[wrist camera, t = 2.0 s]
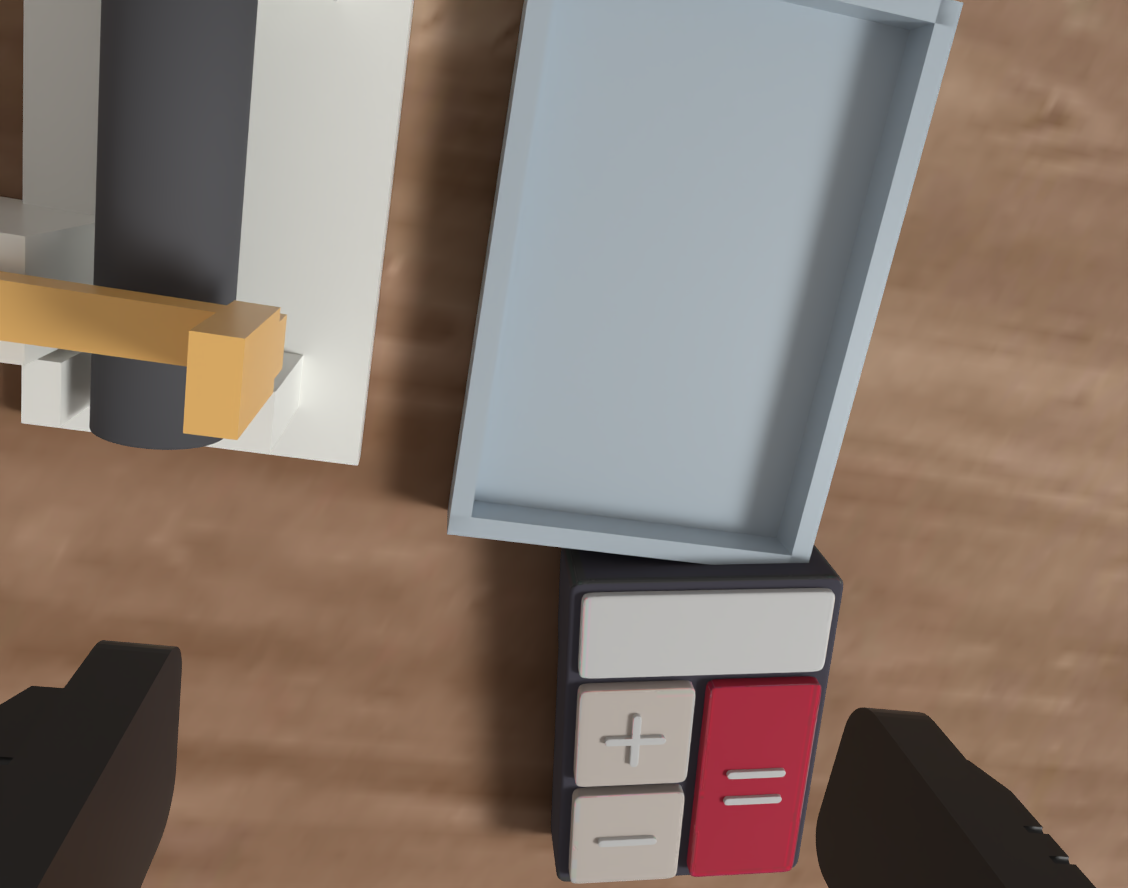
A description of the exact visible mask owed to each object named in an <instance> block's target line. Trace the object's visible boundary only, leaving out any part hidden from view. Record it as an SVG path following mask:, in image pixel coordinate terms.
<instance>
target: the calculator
mask: <svg viewBox="0 0 1128 888" xmlns="http://www.w3.org/2000/svg"><path fill="white" fill-rule="evenodd" d="M842 591H843V581H842V580H841V578H840V577H839V575H838V574H837V573H836V572H835V570H834V569H833V568H832V567H831V565H830V564H829V563H828V562H827V560H826V559H825V558H824V557H823V555H822V554H821V553H820V552H819V550H818V549H817V548H816V547H815V545H813V549H812V553H811V556H810V560H809V563H771V564H723V565H709V564H700V563H691V562H683V561H674V560H666V559H657V558H648V557H640V556H631V555H622V554H614V553H605V552H597V551H588V550H579V549H571V548H562V550H561V559H560V583H559V609H558V643H559V648H558V672H557V696H556V720H555V744H554V767H553V791H552V815H551V832H552V841H553V849H554V857H555V865H556V872H557V876H558V878H559V879H560V880H562V881H571V882H573V883H596V882H614V881H631V880H649V879H667V878H672V877H674V876H677V875H691V876H694V877H702V876H720V875H738V874H756V873H774V872H786V871H789V870H791V868H793V867H794V866H795V865H796V864H797V862H798V857H799V851H800V845H801V839H802V833H803V827H804V821H805V815H806V809H807V803H808V797H809V791H810V785H811V779H812V773H813V767H814V761H815V755H816V749H817V742H818V736H819V730H820V724H821V718H822V712H823V706H824V700H825V694H826V688H827V682H828V676H829V670H830V664H831V658H832V652H833V646H834V640H835V634H836V628H837V621H838V615H839V609H840V603H841V597H842Z"/></svg>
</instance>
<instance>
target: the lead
mask: <svg viewBox="0 0 1128 888" xmlns="http://www.w3.org/2000/svg"><path fill="white" fill-rule="evenodd" d="M257 8H258V0H101V27H100V63H99V99H98V134H97V170H96V206H95V242H94V278H93V285H96V286H102V287H109V288H116V289H122V290H129V291H135V292H142V293H149V294H155V295H162V296H168V297H175V298H182V299H188V300H195V301H202V302H208V303H215V304H221V305H228V304H230V303H231V302H233V301H234V300H236V296H237V282H238V268H239V254H240V241H241V227H242V213H243V200H244V186H245V172H246V159H247V145H248V131H249V118H250V104H251V90H252V76H253V63H254V49H255V35H256V22H257ZM186 373H187V366H179V365H172V364H165V363H158V362H151V361H144V360H136V359H129V358H122V357H115V356H108V355H101V354H93V353H91V385H90V421H89V428H90V430H91V432H92V433H93V434H95V435H96V436H98V437H100V438H102V439H104V440H107V441H110V442H113V443H116V444H120V445H125V446H130V447H137V448H145V449H161V450H176V449H190V448H198V447H203V446H208V445H211V444H214V443H217V442H219V441H220V440H222V439H223V438H217V437H209V436H201V435H193V434H185V433H183V424H184V407H185V390H186Z"/></svg>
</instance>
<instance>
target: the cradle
mask: <svg viewBox="0 0 1128 888" xmlns="http://www.w3.org/2000/svg"><path fill="white" fill-rule="evenodd" d="M413 5H414V0H258V8H257V22H256V35H255V49H254V63H253V76H252V90H251V104H250V118H249V131H248V145H247V159H246V172H245V186H244V200H243V213H242V227H241V241H240V254H239V268H238V282H237V296H236V301H243V302H249V303H256V304H262V305H269V306H275V307H281V309H280V313H281V314H287V321H286V332H285V343H284V354H283V365H282V370H281V371H280V372H279V374H278V375H277V376H276V377H275V379H274V389H273V394H272V395H271V396H270V398H269V399H268V400H267V402H266V403H265V404H264V405H263V407H262V408H261V409H260V411H259V412H258V413H257V415H256V416H255V417H254V419H253V420H252V421H251V423H250V424H249V425H248V427H247V428H246V429H245V431H244V432H243V433H242V435H241V436H240V437H239V439H238V440H232V439H224V438H223V439H222V440H220V441H219V442H217V443H214V444H211V445H208V446H207V447H215V448H223V449H231V450H239V451H247V452H255V453H263V454H270V455H278V456H286V457H294V458H302V459H310V460H318V461H326V462H334V463H342V464H350V465H357V466H358V463H359V460H360V455H361V446H362V438H363V429H364V421H365V412H366V404H367V395H368V387H369V378H370V370H371V361H372V353H373V344H374V336H375V327H376V319H377V311H378V302H379V294H380V285H381V277H382V268H383V260H384V251H385V243H386V234H387V226H388V217H389V209H390V200H391V192H392V183H393V175H394V166H395V158H396V149H397V141H398V132H399V124H400V115H401V107H402V98H403V90H404V82H405V73H406V65H407V56H408V48H409V39H410V31H411V22H412V14H413ZM100 27H101V0H24V38H23V200H19V199H13V198H7V197H1V196H0V271H3V272H10V273H16V274H23V275H30V276H36V277H43V278H49V279H56V280H63V281H69V282H76V283H82V284H89V285H93V278H94V242H95V206H96V170H97V134H98V99H99V63H100ZM0 362H2V363H9V364H17V365H22V394H21V423H25V424H33V425H41V426H49V427H57V428H65V429H73V430H81V431H88V432H91V430H90V428H89V421H90V385H91V353H86V352H79V351H72V350H65V349H58V348H50V347H43V346H36V345H29V344H22V343H15V342H8V341H0Z"/></svg>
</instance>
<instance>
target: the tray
mask: <svg viewBox="0 0 1128 888" xmlns="http://www.w3.org/2000/svg"><path fill="white" fill-rule="evenodd" d="M962 6H963V3H962V2H958V1H954V0H524V3H523V10H522V17H521V23H520V30H519V37H518V43H517V50H516V57H515V64H514V70H513V77H512V84H511V90H510V97H509V104H508V110H507V117H506V124H505V130H504V137H503V144H502V151H501V157H500V164H499V171H498V177H497V184H496V191H495V197H494V204H493V211H492V217H491V224H490V231H489V237H488V244H487V251H486V258H485V264H484V271H483V278H482V284H481V291H480V298H479V304H478V311H477V318H476V324H475V331H474V338H473V344H472V351H471V358H470V365H469V371H468V378H467V385H466V391H465V398H464V405H463V411H462V418H461V425H460V431H459V438H458V445H457V451H456V458H455V465H454V472H453V478H452V485H451V492H450V498H449V505H448V520H447V534H450V535H459V536H467V537H476V538H485V539H493V540H502V541H510V542H519V543H528V544H536V545H545V546H554V547H562V548H571V549H579V550H588V551H597V552H605V553H614V554H622V555H631V556H640V557H648V558H657V559H666V560H674V561H683V562H691V563H700V564H709V565H723V564H771V563H809V560H810V556H811V553H812V549H813V545H814V542H815V538H816V535H817V531H818V527H819V524H820V520H821V516H822V513H823V509H824V506H825V502H826V498H827V495H828V491H829V487H830V484H831V480H832V477H833V473H834V469H835V466H836V462H837V458H838V455H839V451H840V448H841V444H842V440H843V437H844V433H845V429H846V426H847V422H848V419H849V415H850V411H851V408H852V404H853V400H854V397H855V393H856V390H857V386H858V382H859V379H860V375H861V372H862V368H863V364H864V361H865V357H866V353H867V350H868V346H869V343H870V339H871V335H872V332H873V328H874V324H875V321H876V317H877V314H878V310H879V306H880V303H881V299H882V295H883V292H884V288H885V285H886V281H887V277H888V274H889V270H890V266H891V263H892V259H893V256H894V252H895V248H896V245H897V241H898V237H899V234H900V230H901V227H902V223H903V219H904V216H905V212H906V209H907V205H908V201H909V198H910V194H911V190H912V187H913V183H914V180H915V176H916V172H917V169H918V165H919V161H920V158H921V154H922V151H923V147H924V143H925V140H926V136H927V132H928V129H929V125H930V122H931V118H932V114H933V111H934V107H935V103H936V100H937V96H938V93H939V89H940V85H941V82H942V78H943V74H944V71H945V67H946V64H947V60H948V56H949V53H950V49H951V46H952V42H953V38H954V35H955V31H956V27H957V24H958V20H959V17H960V13H961V9H962Z"/></svg>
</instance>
